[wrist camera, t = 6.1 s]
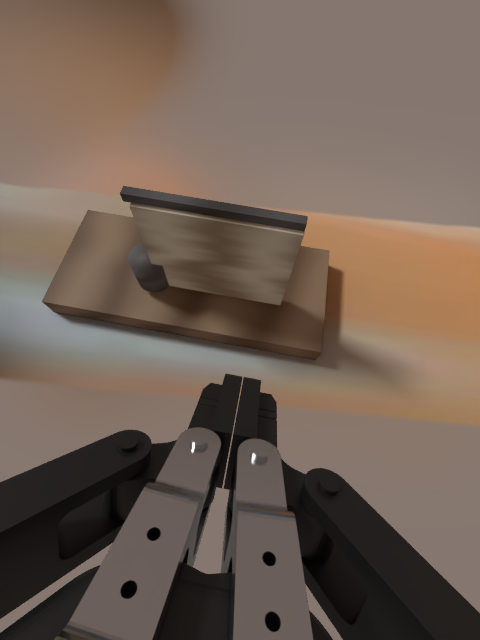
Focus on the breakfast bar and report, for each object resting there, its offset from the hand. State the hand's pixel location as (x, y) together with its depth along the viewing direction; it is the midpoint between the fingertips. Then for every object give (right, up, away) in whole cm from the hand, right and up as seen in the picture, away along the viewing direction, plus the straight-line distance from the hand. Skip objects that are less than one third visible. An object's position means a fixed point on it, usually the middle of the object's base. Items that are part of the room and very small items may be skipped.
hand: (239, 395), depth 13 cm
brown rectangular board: (-4, +6, +17) cm, 19 cm away
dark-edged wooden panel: (-3, +6, +14) cm, 15 cm away
